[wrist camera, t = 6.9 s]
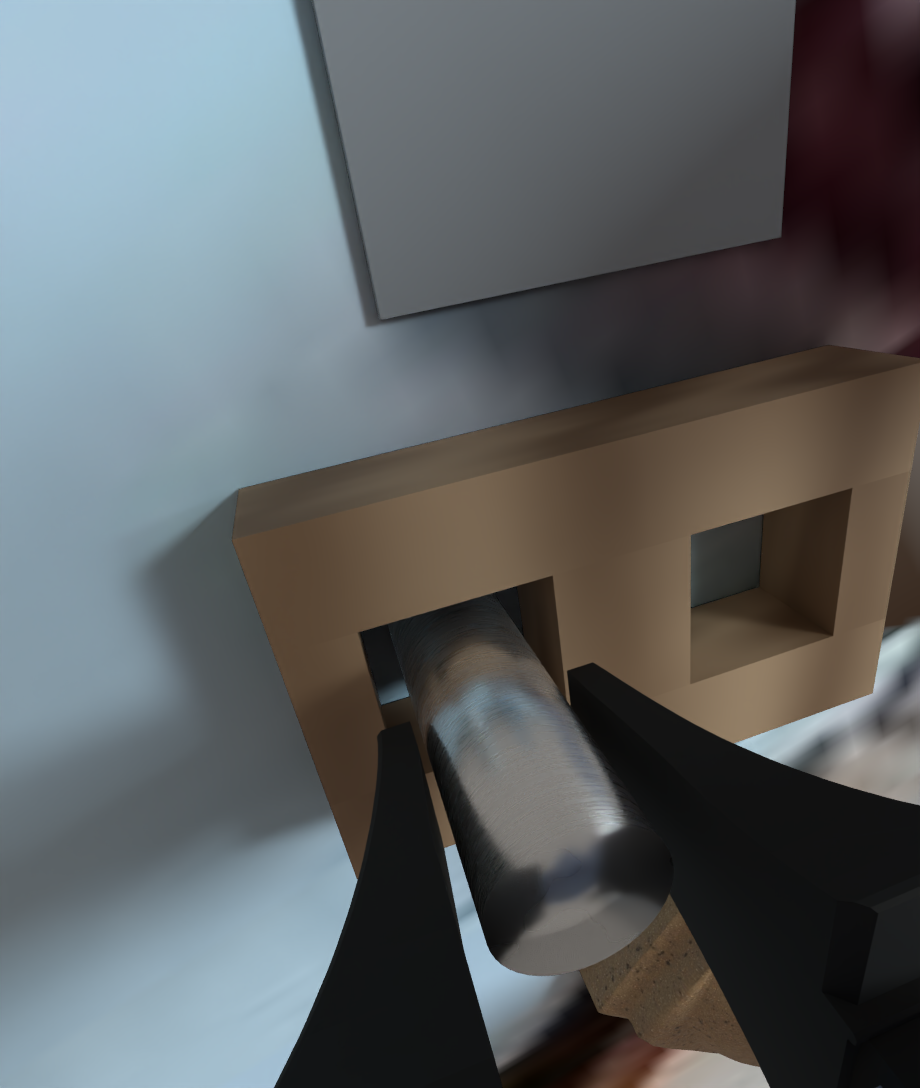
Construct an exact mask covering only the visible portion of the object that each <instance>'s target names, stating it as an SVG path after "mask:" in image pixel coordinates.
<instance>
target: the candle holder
mask: <svg viewBox="0 0 920 1088" xmlns="http://www.w3.org/2000/svg"><path fill="white" fill-rule="evenodd" d="M579 971H580V973H581V975H582V978H583V980H584V982H585V984H586V987H587V989H588V991H589V993H590V995H591V998H592V1000H593V1002H594V1004H595V1006H596V1009H597V1011H598V1012H599V1013H602V1014H605V1015H610V1016H616V1017H622V1018H628V1019H629V1020H630V1022H631V1023H632V1025H633V1027H634V1029H635V1031H636V1033H637V1035H638V1037H639V1038H641V1039H643V1040H644V1041H646V1042H648V1043H650V1044H651V1045H653V1046H658V1047H664V1048H670V1049H681V1050H694V1051H702V1052H709V1053H719V1054H722V1055H724V1056H726V1057H728V1058H730V1059H733V1060H735V1061H738V1062H741V1063H744V1064H748V1065H753V1066H758V1067H760V1066H759V1063H758V1061H757V1059H756V1057H755V1055H754V1053H753V1051H752V1049H751V1047H750V1045H749V1043H748V1041H747V1039H746V1037H745V1035H744V1033H743V1031H742V1029H741V1027H740V1025H739V1024H738V1022H737V1020H736V1018H735V1016H734V1014H733V1012H732V1010H731V1008H730V1006H729V1004H728V1002H727V1000H726V998H725V996H724V994H723V992H722V990H721V988H720V986H719V984H718V983H717V981H716V979H715V977H714V975H713V973H712V971H711V969H710V967H709V966H708V964H707V962H706V960H705V958H704V956H703V954H702V952H701V950H700V949H699V947H698V945H697V943H696V941H695V939H694V937H693V936H692V934H691V932H690V930H689V928H688V926H687V925H686V923H685V921H684V919H683V917H682V916H681V914H680V912H679V910H678V908H677V907H676V905H675V903H674V901H673V899H672V897H671V896H670V894H669V895H668V897H667V900H666V902H665V904H664V905H663V907H662V909H661V910H660V912H659V913H658V915H657V916H656V917H655V919H654V920H653V921H652V922H651V924H650V925H649V926H648V927H647V928H646V929H645V930H644V931H643V932H642V933H641V934H640V935H639V936H638V937H637V938H635V939H634V940H633V941H632V942H631V943H629V944H628V945H627V946H625V947H624V948H622V949H621V950H619V951H618V952H616V953H615V954H613V955H611V956H610V957H608V958H606V959H604V960H602V961H600V962H598V963H596V964H594V965H591V966H588V967H586V968H583V969H580V970H579Z"/></svg>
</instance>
